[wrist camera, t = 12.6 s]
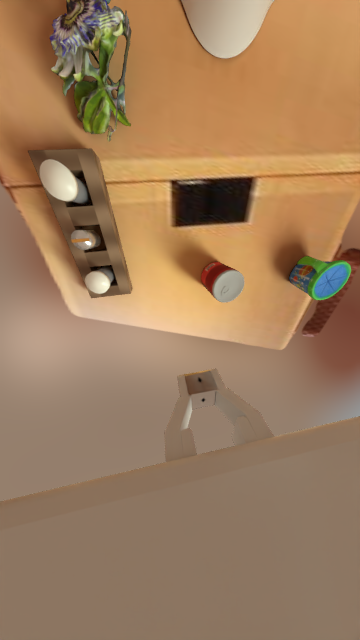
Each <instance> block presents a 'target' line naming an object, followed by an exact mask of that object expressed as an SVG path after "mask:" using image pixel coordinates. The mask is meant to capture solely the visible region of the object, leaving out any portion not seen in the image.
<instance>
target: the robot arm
mask: <svg viewBox="0 0 360 640" xmlns="http://www.w3.org/2000/svg"><path fill="white" fill-rule="evenodd" d="M181 1H182V3H183V6H184V9H185V12H186V15H187V17H188V20H189V23H190V25H191V28H192V30H193V32H194V34H195V36H196V37H197V39H198V40H199V42H200V43H201V45H202V46H203V47H204V48H205V49H206V50H207V51H208V52H209V53H211V54H212V55H214V56H216V57H219V58H231V57H234V56H236V55H238V54H240V53H241V52H242V51H243V50H245V49H246V48H247V47H248V46H249V44H250V43H251V42H252V40H253V39H254V38H255V36H256V34H257V33H258V31H259V29H260V27H261V25H262V23H263V20H264V18H265V16H266V14H267V11H268V9H269V7H270V6H271V4H272V2H273V1H274V0H181ZM177 378H178V386H179V393H180V397H179V398H178V400H177V403H176V405H175V408H174V410H173V413H172V415H171V417H170V420H169V423H168V425H167V427H166V430H165V432H164V437H165V457H166V462H165V463H160V464H156V465H152V466H148V467H143V468H139V469H135V470H131V471H127V472H122V473H118V474H114V475H110V476H105V477H101V478H97V479H93V480H88V481H84V482H80V483H76V484H72V485H68V486H63V487H59V488H55V489H51V490H46V491H42V492H38V493H34V494H30V495H26V496H21V497H17V498H13V499H9V500H4V501H0V640H360V416H359V417H355V418H350V419H346V420H342V421H337V422H333V423H330V424H325V425H321V426H316V427H312V428H308V429H304V430H299V431H296V432H291V433H287V434H283V435H278V436H274V435H273V434H272V432H271V430H270V429H269V427H268V425H267V424H266V422H265V420H264V419H263V417H262V415H261V413H260V412H259V411H258V410H256V409H255V408H253V407H252V406H251V405H250V404H248V403H247V402H246V401H244V400H243V399H242V398H241V397H239V396H238V395H237V394H235V393H234V392H233V391H231V390H230V389H229V388H226V387H225V385H224V383H223V381H222V379H221V376H220V374H219V372H218V370H217V369H211V370H205V371H200V372H196V373H190V374H184V375H178V376H177ZM213 405H215V406H216V407H217V408H218V410H219V411H220V412H221V413H222V414H223V415H224V416H225V417H226V418H227V419H228V420H229V421H230V422H231V423H232V424H233V425H234V426H235V427H234V430H233V433H232V440H233V442H234V445H235V446H232V447H228V448H223V449H220V450H215V451H211V452H207V453H202V454H198V455H197V453H196V448H195V443H194V438H193V433H192V430H191V429H190V428H187V427H188V423H189V419H190V416H191V412H192V410H193V409H197V408H202V407H206V406H213Z"/></svg>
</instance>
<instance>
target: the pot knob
mask: <svg viewBox="0 0 360 640" xmlns="http://www.w3.org/2000/svg"><path fill="white" fill-rule="evenodd" d="M71 241H72V243H73V244H74V245H75V246H76V247H77V248H79V249H81V250H87V249H91V248H94V247H98V246H99V245H100V243H101V239H100V236H99V235H98V234H97V233H96V232H95V231H92V230H75V231H74V232H73V233H72V234H71Z"/></svg>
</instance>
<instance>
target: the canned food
mask: <svg viewBox="0 0 360 640" xmlns="http://www.w3.org/2000/svg"><path fill="white" fill-rule="evenodd" d="M201 281H202V284H203V285H204V286H205V288H206V289H207V290H208V291H209V292H210V293H211V294H212V295H213V296H214V298H215V299H217V300H218V301H220V302H230V301H232V300H234V299H235V298H236V297H238V296H239V294H240V293H241V292H242V290H243V287H244V277H243V275H242V274H241V273H240V272H239V271H237V270H235V269H233V268H231V267H228V266H226V265H224V264H222V263H220V262H213V263H211V264H209V265H207V266H206V267H205V268H204V270H203V272H202V275H201Z"/></svg>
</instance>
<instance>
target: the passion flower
mask: <svg viewBox="0 0 360 640" xmlns="http://www.w3.org/2000/svg"><path fill="white" fill-rule="evenodd" d="M66 2H67V14H65V15H61V16H59V17H58V18H57V19H54V20H53V24H52V26H53V28H54V32H53V34H52V35H50V40H51V45H52V47H53V48H52V49H53V50H54V51H55V55H57V56H58V60H57V63H56V65H55V66H54V67H52V68H51V70H52V71H53V72H54V73H56V74H57V75H59V76H60V77H61V79H64V84H63V94H64V95H65V96H66V93H67V90H68V89H70V86H71V84H73V83H74V80H76V81H78V82H77V83H76V84H75V86H74V87H75V90H74V100H75V105H76V108H77V110H78V112H79V113H78V114H77V117H78V119H79V120H80V121H81V122H83V127H84V131H85V132H90V133H91V134H102V133H105V131H106V130H107V128H108V126H109V122H110V115H111V110H112V111H113V113H114V115H115V117H116V120H115V129H114V130H113V129H112V128H111V126H109V131H108V138H107V140H108V141H110V140H111V134H112V133H113V132H114V131H115V130H116V127H117V119H118V120H119V121H120V122H121V123H122V124H124V125H126V126H131V124H130V123H129V121H128V120H127V118H126V116H125V98H124V92H125V84H124V77H125V71H126V62H127V55H128V50H129V46H130V36H131V29H130V26H129V19H128V17H127V12H125V15H124V13H123V11H122V10H121V9H120V8H118V7H116V6H114V8H113V9H110V8H109V6H108V5H107V4H109V3H110V0H74V1H73V0H66ZM124 21H125V23H124ZM120 35H124V36H125V37H126V41H127V42H126V49H125V55H124V63H123V71H122V76H121V79H120V80H119V81H118V82H117V83H116V84H115V83H114V82H113V81H112V80H111V79H110V77H109V76H108V71H109V63H110V60H111V57H112V55H113V52H114V49H115V47H116V43H117V38H118V36H120ZM99 45H100V46H99ZM98 48H99V61H98V60H97V58H96V56H95V54H94V52H93V51H98ZM90 52H91V54H92V55H93V56H94V58H95V60H96V61H97V63H98V64H99V69H97V68H94V67H93V66H92V64H91V62H90V59H89V53H90ZM85 75H87V76H93V77H94V78H95V79H97V81H93V82H88V81H82V80H83V77H84V76H85ZM107 77H108V79H109V80H110V82H111V85H109V84H108V83H107ZM113 89H115V90H116V91H118V92H117V98H116V99H114V98H113V97H112V94H111V90H113ZM119 104H120V105H122V106H123V112H124V113H123V112H122V110H121V108H120V105H119ZM83 116H84V117H83Z"/></svg>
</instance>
